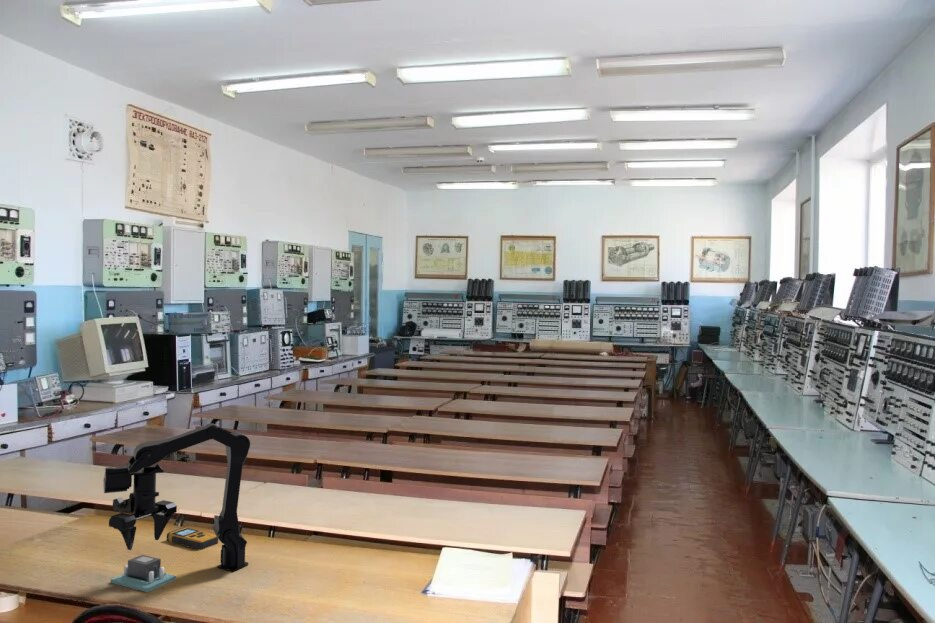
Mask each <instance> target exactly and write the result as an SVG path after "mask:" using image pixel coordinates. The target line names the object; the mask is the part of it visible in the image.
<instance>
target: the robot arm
mask: <svg viewBox="0 0 935 623" xmlns="http://www.w3.org/2000/svg"><path fill="white" fill-rule="evenodd" d="M209 440H214V441H216V442H219V444H222V445H224V446H225V454H226V460H227V466H226V475H225V483H224V490H223V500H222V507H221V511H220V513H219V515H216V514H215V515H214V516H213V519H214V520H213V521H214V523H213V526H212V530H213V531H214V535H216V536H217V537H218V541H220V543H221V544H222V545H221V549H220V564H219V565H217V566H216V568H217V569H222V570H227V571H231V572H235V571H238V570H240V569H242V568H244V567H246V566H248V565H249V562H247V561H246V547H247V543H248V541H247V540H246V538H244V536H243V535H242V534H241V533H240V523H239V518H238V517H239V516H238V505H239V498H240V490H241V482H242V473H243V465H244V463H245V461H246V459H247V457H248V454H249V451H250V448H251V441H250V439H249V438H248V436H246V435H245V434H243V433H242V432H240V431H233V432H232V431H230V430H227V429H225V428H222V427H221V426H218V425H216V424H215V423H212V422H210V423H207V424H206V425H203V426H201V427H197V428H195V429H192V430H190V431H186V432H184V433H181V434H177V435H175V436H171V437H170V438H167V439H160V440H159V439H158V440H151V441H146V442H141V443H139V444H137V445H136V446H135V447H134V450H133V453H132V454H133V455H132V456H131V457H130V458H129V460H128V461H127V463H126V464H125V466H118V467H112V466H110V467H105V468H104V477H103V480H102V481H103V493H104V494H110V493H111V494H112V493H113V494H114V493H121V492H128V490H130V488H132V486H133V491H132V492H131V493H129V495H128V498H126V499H124V498H123V497H117V498H114V499H113V500H112V508H113V511H114V512H116V511H118V513H117V514H114V515H110V516H111V517H109V518H108V527H109V528H113V529H115V530H118V531H119V532H120V534H121V536H122V538H123V540H124V543H125V545H126V548H127V550H128V551H132V550H133V546H134V542H135V537H136V532H137V531H136V530H137V526H135V525H136V523H137V521H138V520H141V519H144V518H148V517H150V516H151V517H152V518H153V535H154V536H153V537H154V541H159V540H160V539H161V536H162V534H163V532H164V529H165V528H166V526H167V525H168V523H169V521H170V519H171V518H173V516H174V514H175V513H177V511H178V510H177V509H178V506H177V504H176V503H175V501H170V500H164V499H163V500H159V501H157V500H156V498H157V497H160V492H159V491H157V484H156V483H157V474H161V473H164V472H165V470H164V469H163V467H162V466H160V465H159V462H161V461H162V460H163V459H165V458H166V457H168V456H169V455H171V454H174V453H177V452H179V451H182V450H185V449H187V448H191V447H194V446H196V445H198V444H201V443H204V442H207V441H209ZM132 477H133V478H132ZM132 479H133V480H132ZM132 482H133V485H132ZM125 511H126V512H127V513H125ZM128 513H129V514H128ZM130 513H131V514H130Z"/></svg>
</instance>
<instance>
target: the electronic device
mask: <svg viewBox="0 0 935 623" xmlns="http://www.w3.org/2000/svg"><path fill="white" fill-rule="evenodd" d="M166 541H167V542H169V543H173V544H177V545H180V546H183V547H187V546H188V547H187V548H191V547H192V548H191V549H195V548H196V549H195V550H199V549H200V550H204V549H206V548H209V547H212V546H215V545H217V544H218V543H219V539H218V537H217V536H216V534H215V533H209V532H206V531H201V530H197V529H193V528H190V527H189V528H188V527H185V526H184V527H181V528H178V529H177V528H176V529H175V530H172V531H169V532H167V534H166Z"/></svg>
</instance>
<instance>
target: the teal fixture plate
mask: <svg viewBox="0 0 935 623" xmlns="http://www.w3.org/2000/svg"><path fill="white" fill-rule="evenodd" d="M174 581H177V575H174V574H170V573H167V572H165V567H164V566H161V567H160V568H159V577H158V578H156V579H154V572H153V571H150V572H149V582H147V583H146V581H143V580H139V579H135V578H131V577H128V564H124V565H123V573H122V574H119V575H117V576H115V577H113V578H110V583H111V584H115V585H118V586H122V587H126V588H130V589H133V590H137V591H142V592H144V593H145V592H146V593H149V592H151V591H153V590H156V589H158V588H160V587H163V586H165V585H167V584H169V583H172V582H174Z"/></svg>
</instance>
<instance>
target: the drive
mask: <svg viewBox="0 0 935 623" xmlns="http://www.w3.org/2000/svg"><path fill="white" fill-rule="evenodd" d="M161 562H162V561H161V558H158V557H154V556H149V555H145V554H140V555H138V556H136V557H134V558H131V559H127V565H128V577H131V578H135V579H139V580H143V581H146V583H147V582H149V572H150V571H153V572H154V579H156V578H158V577H159V568H160V567H162V565H161Z"/></svg>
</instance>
